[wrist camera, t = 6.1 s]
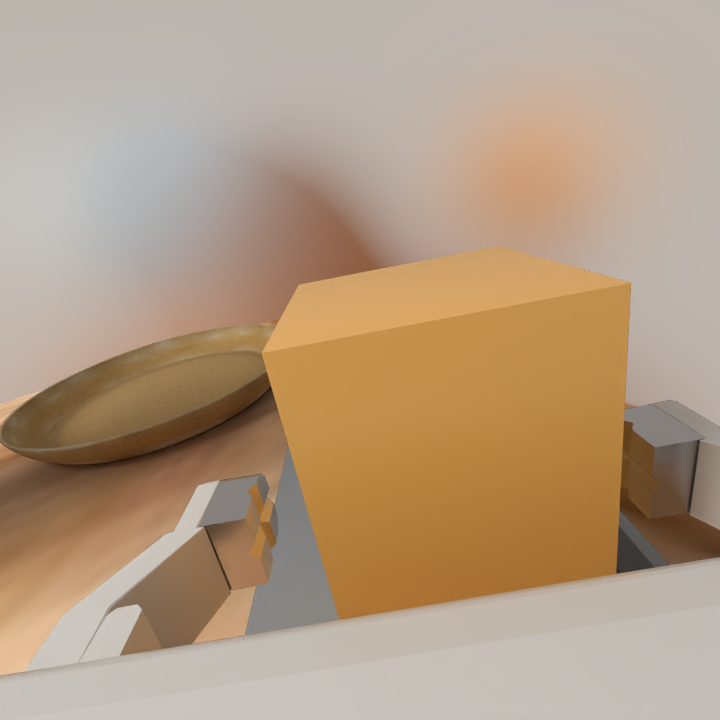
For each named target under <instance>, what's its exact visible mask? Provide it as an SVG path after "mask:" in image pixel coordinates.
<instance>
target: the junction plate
mask: <svg viewBox="0 0 720 720" xmlns="http://www.w3.org/2000/svg"><path fill="white" fill-rule="evenodd" d="M275 508H276V512H277V517H278V537H277V543H276V544H275V545H274V546H273V547H272V548H271V553H272V556H273V563H272V568H271V573H270V577H269V582H268V583H267V584H262V585H257V586H256V589H255V593H254V597H253V602H252V606H251V610H250V615H249V619H248V623H247V628H246V632H245V635H250V634H256V633H262V632H268V631H274V630H280V629H286V628H292V627H299V626H305V625H311V624H317V623H323V622H329V621H335V620H339V617H338V614H337V611H336V607H335V604H334V600H333V597H332V593H331V590H330V587H329V583H328V580H327V576H326V573H325V569H324V566H323V563H322V559H321V556H320V552H319V549H318V545H317V542H316V538H315V535H314V532H313V528H312V525H311V521H310V518H309V514H308V511H307V508H306V504H305V501H304V497H303V494H302V490H301V487H300V484H299V480H298V477H297V473H296V470H295V466H294V463H293V460H292V456H291V453H290V449H289V446H288V449H287V454H286V458H285V462H284V467H283V471H282V475H281V480H280V484H279V488H278V493H277V497H276V501H275ZM668 565H669V564H668V563H667V562H666V561H665V560H664V558H663V557H662V556H661V555H660V554H659V553H658V552H657V551H656V550H655V548H654V547H653V546H652V545H651V544H650V543H649V542H648V541H647V540H646V538H645V537H644V536H643V535H642V534H641V533H640V532H639V531H638V529H637V528H636V527H635V526H634V525H633V524H632V523H631V522H630V521H629V519H628V518H627V517H626V516H625V515H624V514H623V513H622V512H621V511H620V509H619V528H618V548H617V567H616V574H619V573H625V572H631V571H637V570H643V569H649V568H655V567H661V566H668Z"/></svg>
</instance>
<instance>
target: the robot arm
mask: <svg viewBox="0 0 720 720" xmlns="http://www.w3.org/2000/svg"><path fill="white" fill-rule="evenodd" d="M621 487H622V488H624V489H627V490H628V498H629V499H630V501H631V502H632V503H633V504H634V505H635V506H636V507H637V508H638V509H639V510H640V511H641V512H642V513H643V514H644V515H645V516H646V517H647V518H648V519H653V518H660V517H667V516H674V515H681V514H688V513H690V516H692V517H694V518H696V519H698V520H700V521H702V522H704V523H707V524H709V525H711V526H713V527H715V528H717V529H719V530H720V427H719V426H717V425H716V424H714V423H712V422H711V421H709V420H707V419H705V418H704V417H702V416H700V415H699V414H697V413H695V412H693V411H692V410H690V409H689V408H687V407H685V406H684V405H682V404H680V403H679V402H677V401H672V400H667V401H662V402H658V403H653V404H648V405H645V406H640V407H635V408H629V409H625V411H624V431H623V450H622V470H621ZM268 490H269V486H268V484H267V481H266V478H265V476H264V475H262V474H256V475H250V476H243V477H237V478H231V479H224V480H217V481H212V482H207V483H202V484H200V485H198V487H197V488H196V490H195V492H194V494H193V496H192V498H191V500H190V502H189V504H188V505H187V507H186V509H185V511H184V513H183V515H182V517H181V519H180V521H179V523H178V525H177V526H176V528H175V530H174V532H170V533H167V534H165V535H164V536H163V537H161V538H160V539H159V540H158V541H156V542H155V543H154V544H153V545H151V546H150V547H149V548H148V549H146V550H145V551H144V552H142V553H141V554H140V555H139V556H137V557H136V558H135V559H134V560H132V561H131V562H130V563H128V564H127V565H126V566H125V567H123V568H122V569H121V570H120V571H118V572H117V573H116V574H114V575H113V576H112V577H111V578H109V579H108V580H107V581H106V582H104V583H103V584H102V585H100V586H99V587H98V588H97V589H95V590H94V591H93V592H92V593H90V594H89V595H88V596H86V597H85V598H84V599H83V600H81V601H80V602H79V603H78V604H76V605H75V606H74V607H73V608H71V609H70V610H69V611H67V612H66V613H65V614H64V615H63V616H62V617H61V618H60V620H59V621H58V623H57V624H56V626H55V627H54V629H53V630H52V632H51V633H50V635H49V636H48V637H47V639H46V640H45V642H44V643H43V645H42V646H41V648H40V649H39V651H38V652H37V654H36V655H35V656H34V658H33V659H32V661H31V662H30V664H29V665H28V667H27V668H26V670H25V671H24V672H19V673H13V674H7V675H1V676H0V720H720V557H716V558H710V559H704V560H698V561H692V562H686V563H680V564H674V565H668V566H661V567H655V568H649V569H643V570H637V571H631V572H625V573H619V574H613V575H607V576H600V577H594V578H588V579H582V580H576V581H570V582H564V583H558V584H552V585H546V586H540V587H534V588H528V589H522V590H516V591H510V592H504V593H498V594H492V595H486V596H480V597H474V598H468V599H462V600H456V601H450V602H444V603H438V604H432V605H426V606H420V607H414V608H408V609H402V610H396V611H390V612H384V613H377V614H371V615H365V616H359V617H353V618H347V619H341V620H335V621H329V622H323V623H317V624H311V625H305V626H299V627H292V628H286V629H280V630H274V631H268V632H262V633H256V634H250V635H244V636H238V637H232V638H226V639H220V640H214V641H207V642H201V643H195V644H192V643H193V642H194V640H195V639H196V638H197V637H198V635H199V634H200V633H201V631H202V630H203V629H204V627H205V626H206V625H207V624H208V622H209V621H210V620H211V618H212V617H213V616H214V614H215V613H216V612H217V610H218V609H219V608H220V607H221V605H222V604H223V603H224V601H225V600H226V599H227V597H228V596H229V595H230V594H231V591H232V590H237V589H242V588H247V587H252V586H257V585H262V584H267V583H268V582H269V577H270V573H271V568H272V563H273V556H272V553H271V548H272V547H273V546H274V545H275V544H276V543H277V537H278V517H277V512H276V508H275V505H274V502H272V501H271V500H269V499H268V498H267V494H268Z"/></svg>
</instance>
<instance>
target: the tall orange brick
mask: <svg viewBox="0 0 720 720" xmlns="http://www.w3.org/2000/svg"><path fill="white" fill-rule="evenodd" d="M630 292H631V283H629V282H626V281H622V280H618V279H615V278H612V277H608V276H604V275H601V274H597V273H594V272H590V271H586V270H583V269H579V268H576V267H572V266H569V265H565V264H561V263H558V262H554V261H551V260H547V259H543V258H540V257H536V256H533V255H529V254H525V253H522V252H518V251H515V250H511V249H507V248H504V247H500V246H496V247H491V248H485V249H480V250H475V251H470V252H465V253H460V254H455V255H449V256H444V257H440V258H434V259H429V260H424V261H419V262H414V263H408V264H403V265H398V266H393V267H388V268H383V269H378V270H372V271H367V272H363V273H357V274H352V275H347V276H342V277H337V278H331V279H326V280H321V281H316V282H311V283H306V284H300V285H299V286H298V288H297V289H296V291H295V293H294V295H293V297H292V298H291V300H290V302H289V304H288V306H287V308H286V309H285V311H284V313H283V315H282V317H281V318H280V320H279V322H278V324H277V326H276V328H275V329H274V331H273V333H272V335H271V337H270V338H269V340H268V342H267V344H266V346H265V348H264V349H263V351H262V357H263V360H264V363H265V367H266V370H267V374H268V377H269V381H270V384H271V387H272V391H273V394H274V398H275V401H276V405H277V408H278V411H279V415H280V418H281V422H282V425H283V429H284V432H285V435H286V439H287V442H288V446H289V449H290V453H291V456H292V460H293V463H294V466H295V470H296V473H297V477H298V480H299V484H300V487H301V490H302V494H303V497H304V501H305V504H306V508H307V511H308V514H309V518H310V521H311V525H312V528H313V532H314V535H315V538H316V542H317V545H318V549H319V552H320V556H321V559H322V563H323V566H324V569H325V573H326V576H327V580H328V583H329V587H330V590H331V593H332V597H333V600H334V604H335V607H336V611H337V614H338V617H339V620H341V619H347V618H353V617H359V616H365V615H371V614H377V613H384V612H390V611H396V610H402V609H408V608H414V607H420V606H426V605H432V604H438V603H444V602H450V601H456V600H462V599H468V598H474V597H480V596H486V595H492V594H498V593H504V592H510V591H516V590H522V589H528V588H534V587H540V586H546V585H552V584H558V583H564V582H570V581H576V580H582V579H588V578H594V577H600V576H607V575H613V574H616V567H617V548H618V528H619V509H620V489H621V470H622V450H623V431H624V411H625V390H626V372H627V353H628V333H629V314H630V312H629V311H630V294H631V293H630Z"/></svg>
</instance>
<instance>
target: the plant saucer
mask: <svg viewBox="0 0 720 720" xmlns="http://www.w3.org/2000/svg"><path fill="white" fill-rule="evenodd" d="M275 328H276V326H271V325H259V324H258V325H253V324H252V325H236V326H228V327H220V328H214V329H208V330H203V331H198V332H194V333H189V334H185V335H181V336H177V337H173V338H170V339H166V340H162V341H159V342H156V343H152V344H149V345H146V346H143V347H140V348H137V349H134V350H131V351H128V352H125V353H123V354H120V355H117V356H114V357H112V358H110V359H107V360H105V361H102V362H100V363H97V364H95V365H93V366H90V367H88V368H86V369H84V370H82V371H79V372H78V373H75V374H73V375H71V376H69V377H67V378H65V379H63V380H61V381H59V382H57V383H55V384H53V385H52V386H50V387H48V388H46V389H45V390H43V391H41V392H39V393H38V394H36V395H35V396H33V397H32V398H30V399H29V400H27V401H26V402H24V403H23V404H22V405H20V406H19V407H18V408H17V409H16V410H14V411H13V412H12V413H11V414H10V415H9V416H8V417H7V418H6V419H5V420H4V422H3V423H2V424H1V426H0V443H1V444H2V445H4V446H5V447H7V448H8V449H10V450H12V451H13V452H15V453H18V454H20V455H22V456H25V457H28V458H31V459H34V460H38V461H43V462H49V463H57V464H96V463H105V462H111V461H117V460H122V459H127V458H131V457H135V456H139V455H143V454H147V453H150V452H153V451H157V450H160V449H163V448H166V447H169V446H171V445H174V444H177V443H179V442H182V441H185V440H187V439H189V438H192V437H194V436H196V435H199V434H201V433H203V432H205V431H207V430H209V429H211V428H213V427H215V426H217V425H219V424H221V423H223V422H225V421H227V420H228V419H230V418H232V417H233V416H235V415H237V414H238V413H240V412H241V411H243V410H244V409H245V408H247V407H248V406H250V405H251V404H252V403H253V402H255V401H256V400H257V399H258V398H259V397H261V396H262V395H263V394H264V393H265V392H266V391H267V390H268V389H269V388H270V386H271V384H270V381H269V377H268V374H267V370H266V367H265V363H264V360H263V357H262V351H263V349H264V348H265V346H266V344H267V342H268V340H269V338H270V337H271V335H272V333H273V331H274V329H275Z"/></svg>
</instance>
